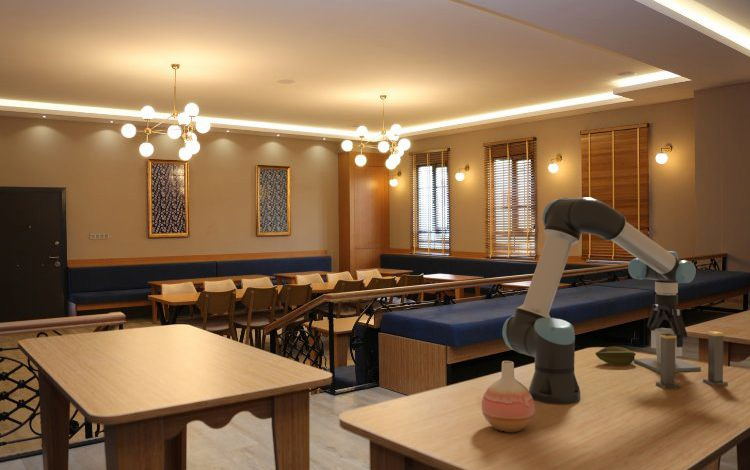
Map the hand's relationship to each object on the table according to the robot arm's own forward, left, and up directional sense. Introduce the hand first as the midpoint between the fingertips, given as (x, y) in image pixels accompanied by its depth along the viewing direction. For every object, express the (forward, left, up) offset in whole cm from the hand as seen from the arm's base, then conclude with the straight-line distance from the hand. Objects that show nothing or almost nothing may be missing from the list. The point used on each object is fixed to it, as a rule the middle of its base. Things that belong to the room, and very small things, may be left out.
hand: (666, 351), depth 228 cm
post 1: (-15, -24, -5) cm, 29 cm away
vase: (-80, -52, -6) cm, 96 cm away
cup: (0, 0, -4) cm, 4 cm away
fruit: (-16, +7, -6) cm, 18 cm away
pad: (0, 0, -5) cm, 5 cm away
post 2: (+2, -24, -5) cm, 25 cm away
